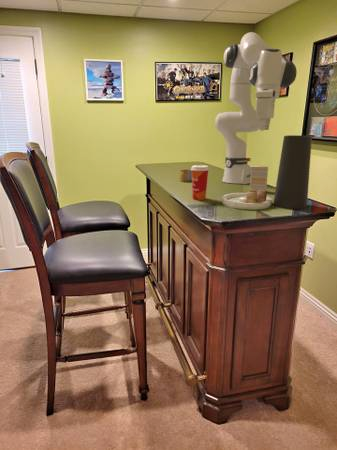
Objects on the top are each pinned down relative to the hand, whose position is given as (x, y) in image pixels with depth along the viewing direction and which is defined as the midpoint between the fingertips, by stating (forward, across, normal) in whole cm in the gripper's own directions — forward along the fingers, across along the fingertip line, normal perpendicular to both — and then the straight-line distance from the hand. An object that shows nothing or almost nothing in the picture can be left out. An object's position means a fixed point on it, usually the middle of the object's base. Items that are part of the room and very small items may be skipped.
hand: (264, 130), depth 137 cm
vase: (+31, -4, +13) cm, 34 cm away
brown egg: (+30, 0, +1) cm, 30 cm away
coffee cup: (+31, +1, -27) cm, 41 cm away
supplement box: (+31, -27, -5) cm, 42 cm away
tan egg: (+30, +6, -2) cm, 31 cm away
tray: (+31, +1, -5) cm, 32 cm away
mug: (+31, -41, -48) cm, 70 cm away
